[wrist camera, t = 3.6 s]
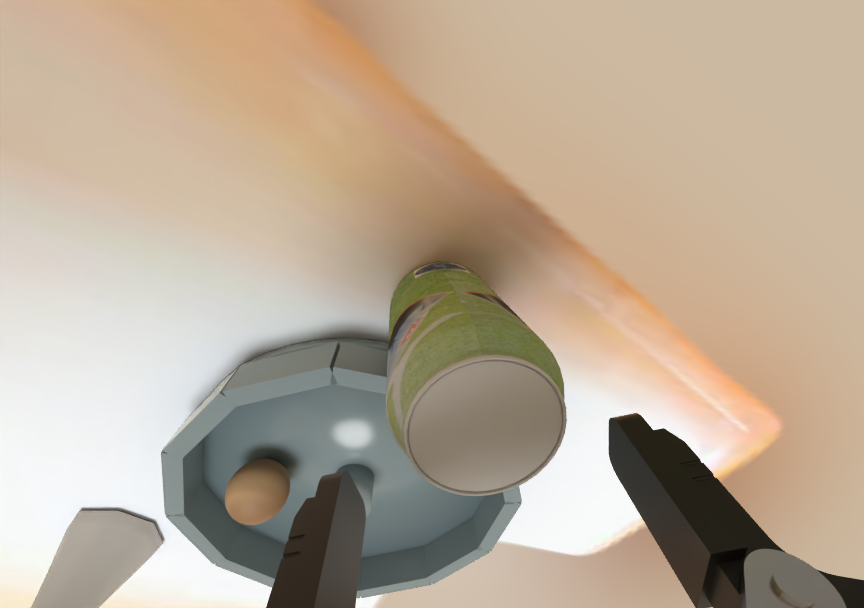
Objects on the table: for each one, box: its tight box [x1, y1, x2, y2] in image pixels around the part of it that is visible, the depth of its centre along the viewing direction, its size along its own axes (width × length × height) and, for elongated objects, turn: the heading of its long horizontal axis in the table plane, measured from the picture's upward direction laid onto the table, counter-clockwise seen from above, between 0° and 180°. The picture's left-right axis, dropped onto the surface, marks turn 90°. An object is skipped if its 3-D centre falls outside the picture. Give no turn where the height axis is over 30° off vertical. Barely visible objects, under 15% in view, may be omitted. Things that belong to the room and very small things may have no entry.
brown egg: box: [225, 458, 290, 525], centre depth 23 cm, size 4×4×4 cm
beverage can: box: [386, 262, 567, 496], centre depth 15 cm, size 6×7×12 cm
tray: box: [161, 338, 522, 598], centre depth 26 cm, size 24×24×4 cm
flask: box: [31, 511, 163, 608], centre depth 25 cm, size 7×7×10 cm
